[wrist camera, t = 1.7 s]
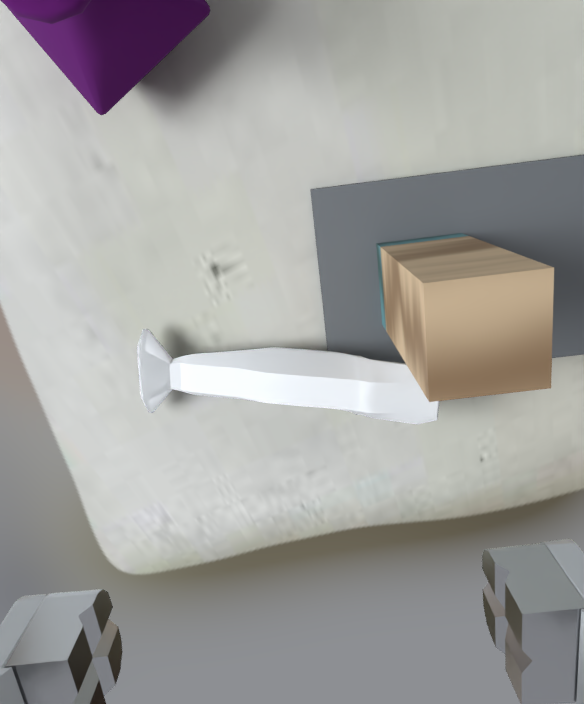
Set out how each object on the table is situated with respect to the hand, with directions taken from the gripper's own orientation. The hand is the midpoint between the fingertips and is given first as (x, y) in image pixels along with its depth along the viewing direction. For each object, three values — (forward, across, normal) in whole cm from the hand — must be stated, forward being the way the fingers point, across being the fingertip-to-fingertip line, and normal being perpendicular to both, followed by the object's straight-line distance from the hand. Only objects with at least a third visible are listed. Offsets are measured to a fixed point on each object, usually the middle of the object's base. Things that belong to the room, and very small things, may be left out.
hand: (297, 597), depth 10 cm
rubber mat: (+25, -13, 0) cm, 28 cm away
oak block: (+25, -8, 0) cm, 26 cm away
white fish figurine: (+25, +1, +5) cm, 26 cm away
